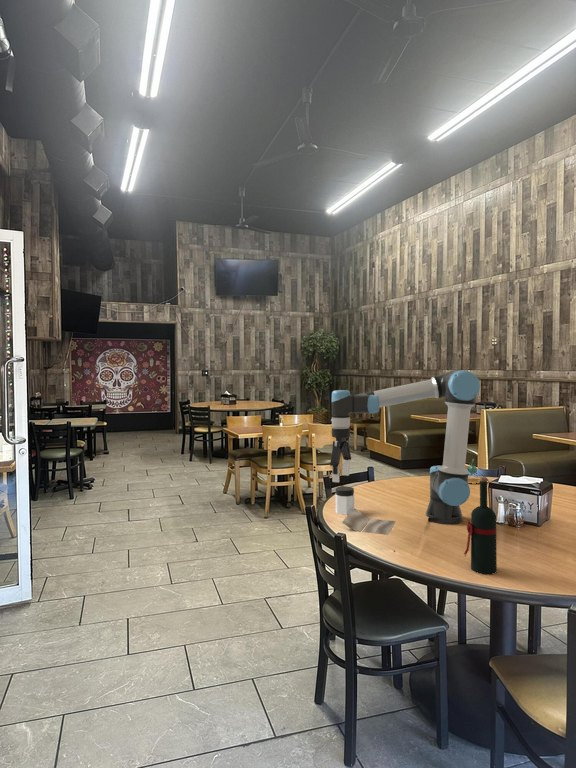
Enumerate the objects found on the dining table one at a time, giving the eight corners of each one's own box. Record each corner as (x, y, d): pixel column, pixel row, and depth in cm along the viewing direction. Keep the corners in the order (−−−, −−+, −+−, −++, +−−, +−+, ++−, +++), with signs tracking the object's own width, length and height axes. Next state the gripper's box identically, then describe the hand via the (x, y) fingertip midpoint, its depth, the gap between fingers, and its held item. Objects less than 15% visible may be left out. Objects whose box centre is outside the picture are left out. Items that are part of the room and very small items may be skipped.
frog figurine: (493, 485, 271) (490, 459, 271) (459, 488, 275) (456, 462, 275) (489, 481, 281) (486, 456, 281) (456, 483, 284) (454, 458, 284)
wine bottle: (460, 564, 162) (460, 475, 161) (491, 564, 161) (491, 475, 161) (467, 574, 154) (467, 480, 153) (500, 574, 154) (500, 480, 153)
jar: (343, 518, 213) (342, 491, 213) (331, 514, 220) (331, 488, 220) (358, 515, 218) (358, 488, 218) (346, 511, 225) (346, 485, 224)
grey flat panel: (398, 524, 205) (398, 520, 205) (389, 539, 187) (389, 535, 187) (345, 518, 214) (345, 515, 214) (331, 532, 195) (331, 529, 195)
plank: (369, 520, 209) (370, 518, 208) (359, 534, 192) (360, 531, 192) (353, 510, 211) (354, 508, 211) (342, 522, 195) (343, 520, 194)
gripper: (341, 424, 214) (341, 471, 215) (322, 430, 191) (322, 484, 192) (357, 424, 211) (358, 473, 212) (340, 431, 188) (340, 485, 189)
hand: (341, 478), depth 202 cm, fingers open, 13 cm apart
